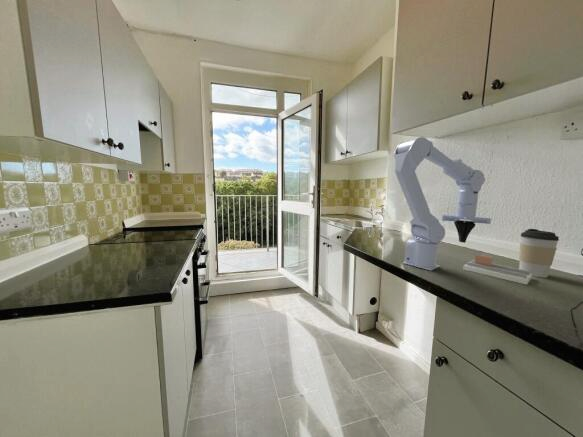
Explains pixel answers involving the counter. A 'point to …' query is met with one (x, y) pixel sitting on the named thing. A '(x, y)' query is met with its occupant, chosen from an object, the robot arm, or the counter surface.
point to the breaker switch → (484, 260)
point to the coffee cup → (537, 251)
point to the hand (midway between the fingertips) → (462, 242)
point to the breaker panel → (500, 272)
